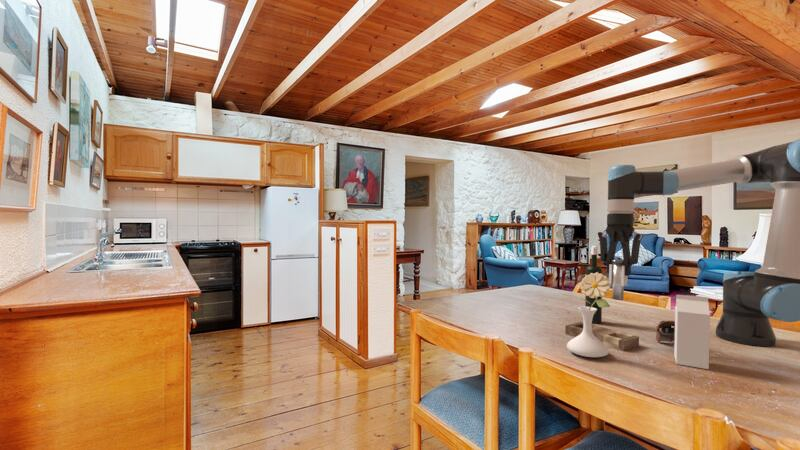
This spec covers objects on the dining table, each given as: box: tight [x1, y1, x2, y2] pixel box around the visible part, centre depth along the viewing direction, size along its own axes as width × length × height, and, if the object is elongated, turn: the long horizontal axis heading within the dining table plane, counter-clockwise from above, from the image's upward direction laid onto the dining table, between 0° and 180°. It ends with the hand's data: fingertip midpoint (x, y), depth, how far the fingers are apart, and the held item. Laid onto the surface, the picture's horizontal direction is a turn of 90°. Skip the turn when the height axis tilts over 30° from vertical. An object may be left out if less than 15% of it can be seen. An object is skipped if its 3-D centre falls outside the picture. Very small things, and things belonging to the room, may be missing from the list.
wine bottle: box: [584, 245, 603, 325], centre depth 149 cm, size 6×6×30 cm
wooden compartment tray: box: [564, 321, 640, 352], centre depth 128 cm, size 20×9×3 cm, turn 32°
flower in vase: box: [566, 272, 612, 358], centre depth 113 cm, size 13×11×25 cm
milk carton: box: [673, 294, 711, 370], centre depth 107 cm, size 7×7×19 cm
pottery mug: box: [655, 320, 675, 344], centre depth 126 cm, size 12×10×8 cm
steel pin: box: [611, 258, 625, 301], centre depth 125 cm, size 4×4×13 cm
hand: (618, 284), depth 125 cm, fingers closed on steel pin, 3 cm apart
